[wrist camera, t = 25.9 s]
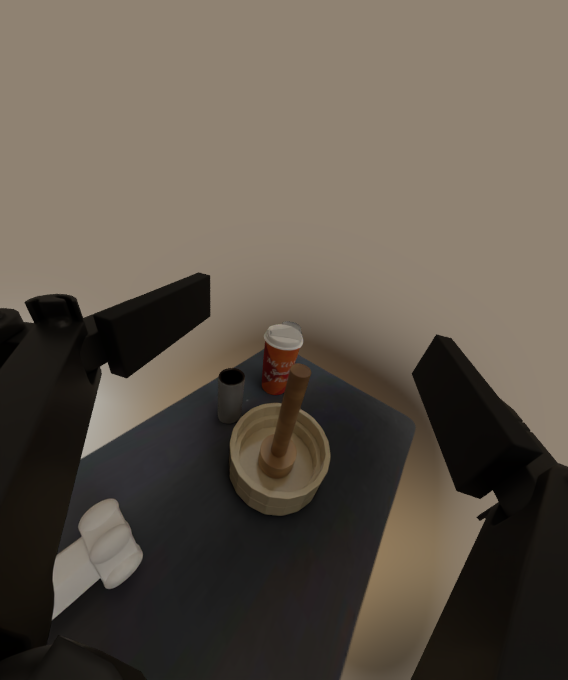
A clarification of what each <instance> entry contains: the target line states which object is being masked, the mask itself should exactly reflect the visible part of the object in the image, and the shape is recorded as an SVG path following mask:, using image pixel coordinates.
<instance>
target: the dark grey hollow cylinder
mask: <svg viewBox="0 0 568 680" xmlns="http://www.w3.org/2000/svg"><path fill="white" fill-rule="evenodd" d="M244 381H245V375H244V373H243V372H242V371H241V370H239V369H236V368H228V369H225V370H223V371H222V372H220V374H219V377H218V418H219V420H220V421H221V422H223V423H226V424H231V423H234V422H236V421H238V420H239V418H240V416H241V409H242V400H243V390H244Z"/></svg>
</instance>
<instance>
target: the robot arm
mask: <svg viewBox="0 0 568 680" xmlns="http://www.w3.org/2000/svg"><path fill="white" fill-rule="evenodd" d="M25 304H26V307H27V309H28V311H29V313H30V315H31V317H32V319H33V321H34V323H28V322H23V320H22V318H21V316H20V314H19V312H18V311H16V310H14V309H7V308H0V680H147V679H146V678H145V677H144V675H143V674H142V672H141V671H139V670H137V669H135V668H133V667H131V666H129V665H127V664H125V663H123V662H122V661H120V660H118V659H116V658H114V657H112V656H110V655H108V654H106V653H104V652H103V651H100V650H98V649H95V648H92V647H89V646H87V645H84V644H81V643H79V642H76V641H73V640H71V639H68V638H65V637H62V636H60V635H58V637H57V638H56V640H55V641H54V643H53V644H52V645H47V646H46V644H47V640H48V635H49V631H50V626H51V622H52V616H53V610H54V597H55V593H54V586H53V568H54V563H55V559H56V555H57V551H58V547H59V543H60V539H61V535H62V531H63V527H64V523H65V519H66V515H67V511H68V507H69V503H70V499H71V495H72V491H73V487H74V483H75V479H76V475H77V471H78V467H79V463H80V459H81V455H82V451H83V447H84V443H85V439H86V435H87V430H88V427H89V423H90V418H91V415H92V411H93V407H94V403H95V399H96V395H97V390H98V386H99V383H100V378H101V374H102V373H101V369H100V366H102V365H103V364H105V363H107V362H108V365H109V368H110V371H111V373H112V374H115V375H118V376H121V377H124V378H128V377H129V376H131V375H132V374H133V373H135V372H136V371H137V370H139V369H140V368H141V367H143V366H144V365H145V364H147V363H148V362H150V361H151V360H152V359H153V358H155V357H156V356H157V355H159V354H160V353H161V352H163V351H164V350H166V349H167V348H168V347H170V346H171V345H172V344H174V343H175V342H176V341H178V340H179V339H180V338H182V337H183V336H184V335H186V334H187V333H188V332H190V331H191V330H192V329H194V328H195V327H196V326H198V325H199V324H200V323H202V322H203V321H204V320H206V319H207V318H208V317H210V275H206V274H202V273H196V274H194V275H191V276H189V277H187V278H184V279H181V280H179V281H176V282H174V283H171V284H169V285H166V286H164V287H161V288H159V289H156V290H154V291H151V292H149V293H146V294H144V295H141V296H139V297H136V298H134V299H130V300H128V301H125V302H123V303H120V304H118V305H115V306H113V307H111V308H108V309H105V310H103V311H100V312H97V313H95V314H93V315H90V316H87V317H85V318H83V316H82V314H81V311H80V308H79V305H78V302H77V299H76V298H75V297H73V296H70V295H65V294H50V295H43V296H37V297H34V298H31V299H29V300H27V301H26V302H25ZM412 375H413V378H414V381H415V383H416V386H417V389H418V391H419V394H420V396H421V399H422V402H423V404H424V407H425V409H426V412H427V415H428V417H429V420H430V422H431V425H432V428H433V431H434V433H435V436H436V438H437V441H438V443H439V446H440V449H441V451H442V454H443V457H444V459H445V462H446V464H447V467H448V470H449V472H450V475H451V478H452V480H453V483H454V485H455V488H456V490H457V491H458V492H461V493H464V494H467V495H470V496H473V497H476V498H479V499H481V498H482V497H484V496H485V495H487V494H488V493H489V492H491V491H492V490H493V491H494V493H495V495H496V497H497V499H498V501H499V502H498V503H497V504H495V505H494V506H492V507H491V508H489V509H488V510H486V511H485V512H483V513H481V514H480V515H479V516H478V517H477V518H478V519H479V520H482V519H484V518H486V520H485V522H484V524H483V526H482V528H481V530H480V532H479V535H478V537H477V539H476V541H475V543H474V545H473V547H472V550H471V552H470V554H469V556H468V558H467V560H466V562H465V565H464V567H463V569H462V571H461V573H460V575H459V578H458V580H457V582H456V584H455V586H454V588H453V590H452V592H451V595H450V597H449V599H448V601H447V603H446V605H445V607H444V610H443V612H442V614H441V616H440V618H439V620H438V622H437V624H436V627H435V629H434V631H433V633H432V635H431V637H430V639H429V642H428V644H427V646H426V648H425V650H424V652H423V655H422V657H421V659H420V661H419V663H418V665H417V667H416V670H415V672H414V674H413V676H412V678H411V680H568V467H566V466H563V465H559V464H558V463H557V462H556V460H555V459H554V458H553V457H552V456H551V454H550V453H549V452H548V451H547V450H546V448H545V447H544V446H543V445H542V443H541V442H540V441H539V440H538V439H537V437H536V436H535V435H534V434H533V433H532V432H530V429H529V428H528V427H527V425H526V424H525V423H523V422H522V419H521V418H520V417H519V416H518V415H517V413H516V412H515V411H514V410H513V409H512V408H511V407H510V406H508V405H507V404H506V403H505V402H503V401H502V400H501V399H500V398H499V397H498V396H497V394H496V393H495V392H494V391H493V389H492V388H491V387H490V386H489V384H488V383H487V382H486V381H485V379H484V378H483V377H482V376H481V374H480V373H479V372H478V371H477V370H476V368H475V367H474V366H473V365H472V363H471V362H470V361H469V360H468V358H467V357H466V356H465V355H464V353H463V352H462V351H461V350H460V348H459V347H458V346H457V345H456V343H455V342H454V341H453V340H452V338H448V337H444V336H440V335H436V336H435V337H434V339H433V341H432V342H431V344H430V345H429V347H428V349H427V350H426V352H425V354H424V355H423V357H422V358H421V360H420V361H419V363H418V365H417V366H416V368H415V369H414V371H413V373H412Z"/></svg>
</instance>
